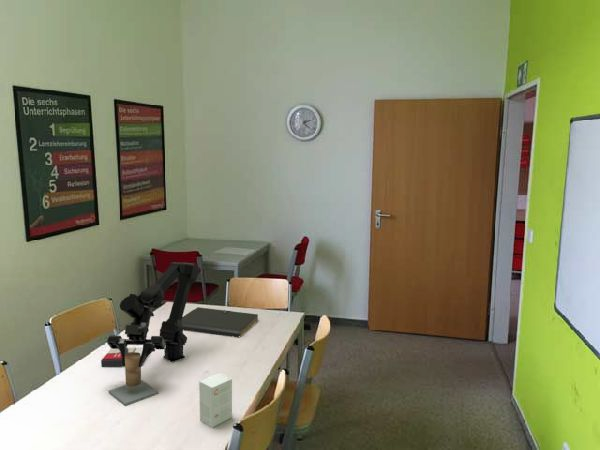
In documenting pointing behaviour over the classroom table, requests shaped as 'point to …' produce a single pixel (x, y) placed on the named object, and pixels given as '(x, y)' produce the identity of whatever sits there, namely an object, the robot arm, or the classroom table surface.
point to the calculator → (117, 357)
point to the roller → (132, 369)
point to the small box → (215, 399)
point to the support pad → (133, 393)
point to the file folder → (218, 321)
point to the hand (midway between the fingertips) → (131, 366)
